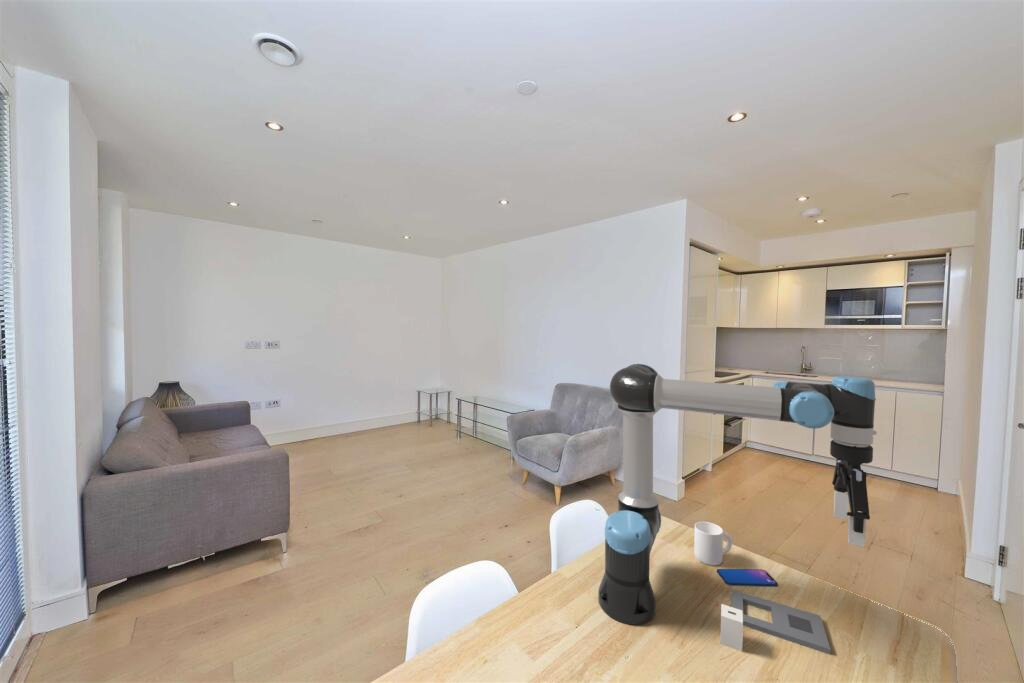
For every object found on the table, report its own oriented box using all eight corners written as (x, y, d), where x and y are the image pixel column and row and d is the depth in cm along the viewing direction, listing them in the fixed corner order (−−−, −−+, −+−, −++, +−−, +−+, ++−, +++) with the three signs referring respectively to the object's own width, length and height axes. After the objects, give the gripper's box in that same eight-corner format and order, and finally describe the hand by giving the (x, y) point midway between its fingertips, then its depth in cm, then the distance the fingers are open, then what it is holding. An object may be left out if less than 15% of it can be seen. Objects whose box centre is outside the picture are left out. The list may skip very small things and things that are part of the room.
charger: (720, 643, 92) (721, 615, 92) (720, 630, 96) (721, 603, 95) (742, 651, 90) (743, 622, 89) (741, 638, 94) (742, 610, 93)
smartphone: (715, 568, 120) (764, 569, 119) (715, 571, 120) (764, 571, 119) (727, 584, 112) (779, 584, 112) (727, 587, 113) (779, 587, 112)
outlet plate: (731, 621, 99) (731, 616, 99) (731, 593, 109) (731, 588, 109) (830, 654, 89) (830, 649, 89) (819, 619, 99) (820, 615, 99)
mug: (724, 550, 130) (725, 521, 129) (739, 566, 121) (740, 534, 121) (689, 551, 130) (690, 521, 129) (702, 566, 121) (702, 534, 121)
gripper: (892, 461, 78) (888, 563, 78) (856, 431, 99) (853, 512, 100) (844, 455, 81) (840, 552, 82) (820, 428, 103) (817, 505, 104)
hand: (847, 530), depth 91 cm, fingers open, 13 cm apart
